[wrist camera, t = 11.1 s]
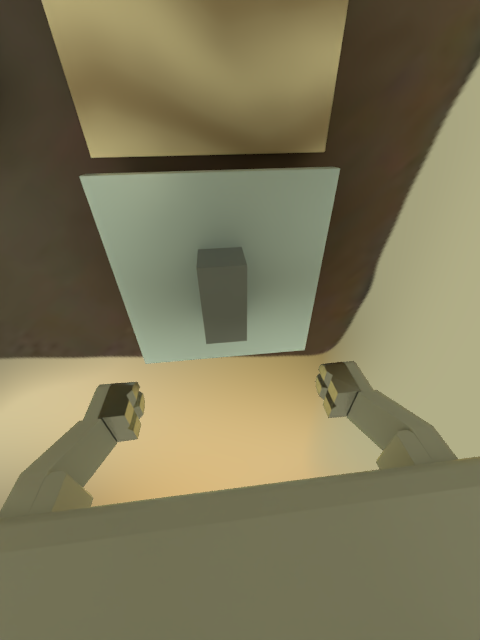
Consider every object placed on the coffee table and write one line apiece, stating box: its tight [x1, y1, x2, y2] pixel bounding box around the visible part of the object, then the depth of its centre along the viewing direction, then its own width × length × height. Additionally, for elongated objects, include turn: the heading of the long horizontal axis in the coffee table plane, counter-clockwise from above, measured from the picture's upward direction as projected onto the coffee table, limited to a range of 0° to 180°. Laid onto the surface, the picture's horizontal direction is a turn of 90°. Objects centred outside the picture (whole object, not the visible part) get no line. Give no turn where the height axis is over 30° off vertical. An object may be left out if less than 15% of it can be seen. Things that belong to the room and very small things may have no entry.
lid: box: [79, 167, 340, 364], centre depth 18 cm, size 15×15×4 cm
